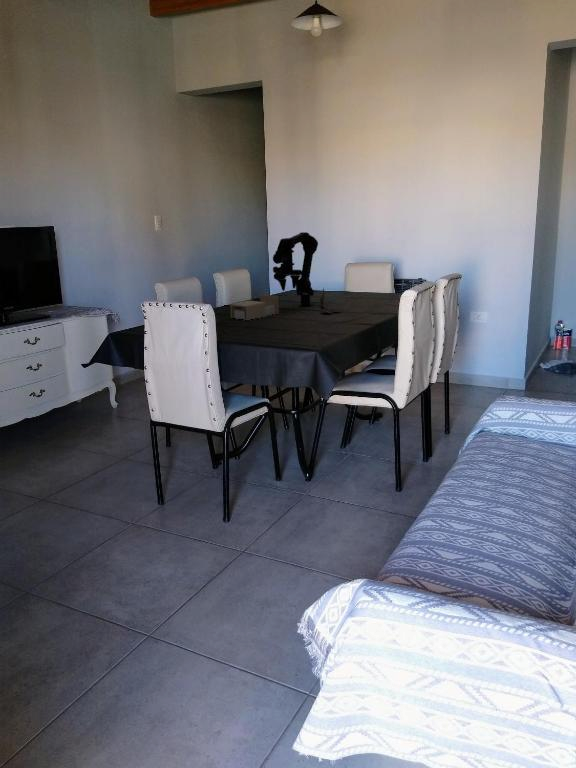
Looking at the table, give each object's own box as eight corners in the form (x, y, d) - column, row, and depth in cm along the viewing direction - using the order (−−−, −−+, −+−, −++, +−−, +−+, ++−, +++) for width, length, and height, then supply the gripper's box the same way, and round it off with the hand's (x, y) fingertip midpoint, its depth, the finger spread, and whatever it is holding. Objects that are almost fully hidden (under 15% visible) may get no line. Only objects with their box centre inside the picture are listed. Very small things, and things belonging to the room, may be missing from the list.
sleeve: (249, 314, 348) (248, 300, 345) (265, 316, 339) (265, 302, 337) (231, 318, 338) (230, 304, 335) (247, 321, 329) (246, 306, 327)
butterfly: (308, 294, 339) (324, 284, 337) (312, 294, 349) (327, 285, 346) (324, 322, 339) (340, 312, 337) (327, 321, 349) (343, 312, 346)
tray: (262, 312, 355) (261, 294, 352) (278, 314, 346) (278, 296, 343) (231, 318, 338) (230, 300, 335) (248, 320, 330) (247, 301, 327)
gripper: (286, 259, 361) (288, 286, 366) (265, 263, 348) (267, 291, 352) (302, 259, 354) (303, 287, 359) (280, 263, 341) (282, 292, 345)
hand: (288, 289), depth 354 cm, fingers open, 9 cm apart
